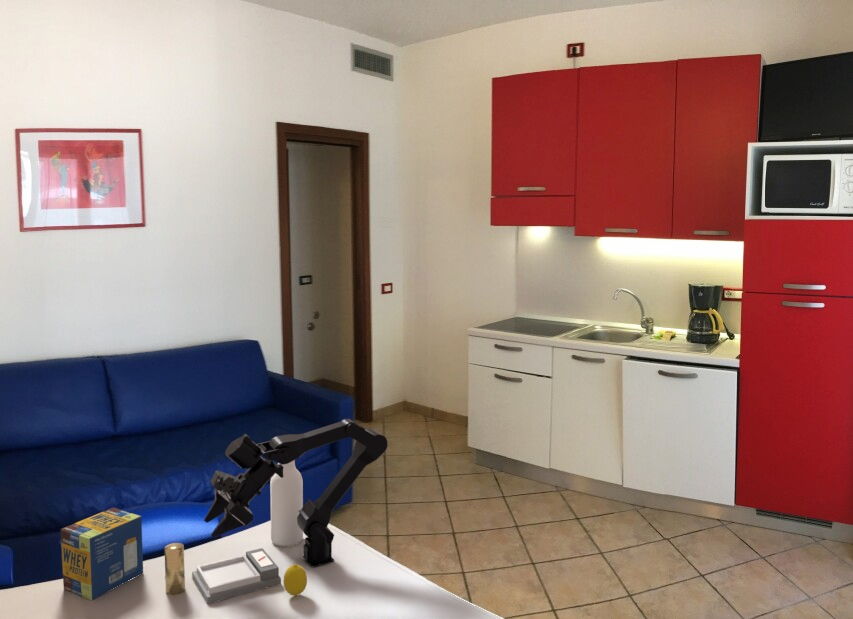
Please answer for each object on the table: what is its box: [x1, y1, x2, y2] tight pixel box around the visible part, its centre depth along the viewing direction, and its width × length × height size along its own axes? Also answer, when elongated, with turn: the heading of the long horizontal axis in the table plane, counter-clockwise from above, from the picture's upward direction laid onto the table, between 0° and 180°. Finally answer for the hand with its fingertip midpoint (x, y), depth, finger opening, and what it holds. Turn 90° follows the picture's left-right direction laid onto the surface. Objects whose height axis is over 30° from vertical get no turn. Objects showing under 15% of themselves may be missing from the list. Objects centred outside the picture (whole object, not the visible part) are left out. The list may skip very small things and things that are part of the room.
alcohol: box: [269, 460, 304, 548], centre depth 200 cm, size 9×9×30 cm
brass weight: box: [164, 542, 186, 596], centre depth 173 cm, size 4×4×11 cm
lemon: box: [283, 563, 308, 597], centre depth 172 cm, size 6×6×8 cm
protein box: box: [60, 507, 144, 601], centre depth 177 cm, size 10×15×16 cm
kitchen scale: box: [191, 547, 282, 604], centre depth 179 cm, size 14×18×4 cm
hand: (208, 528), depth 176 cm, fingers open, 9 cm apart
